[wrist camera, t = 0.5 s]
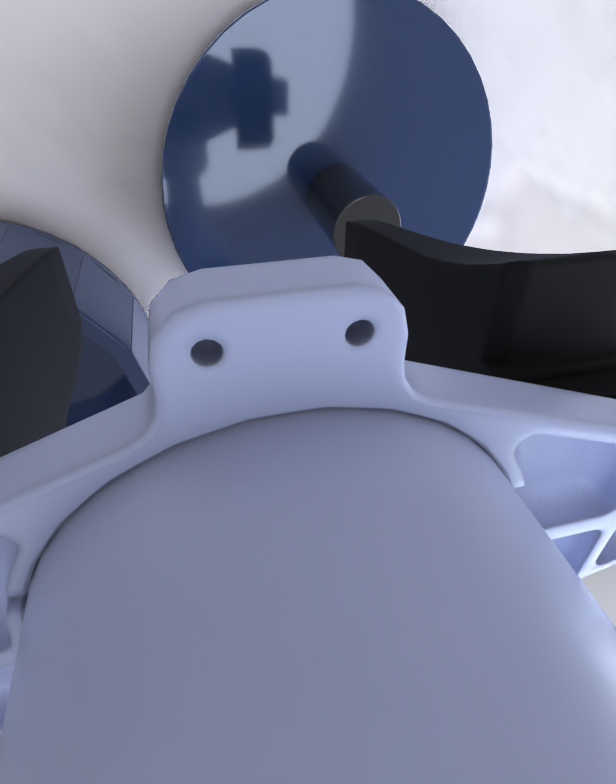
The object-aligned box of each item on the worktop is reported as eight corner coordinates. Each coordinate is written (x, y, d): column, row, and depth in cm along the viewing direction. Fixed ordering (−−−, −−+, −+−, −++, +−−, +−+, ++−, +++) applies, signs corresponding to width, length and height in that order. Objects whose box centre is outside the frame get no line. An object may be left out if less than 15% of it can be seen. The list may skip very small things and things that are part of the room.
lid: (425, 330, 28) (469, 384, 25) (162, 327, 24) (165, 391, 21) (531, 20, 20) (622, 29, 16) (157, -64, 16) (161, -80, 12)
